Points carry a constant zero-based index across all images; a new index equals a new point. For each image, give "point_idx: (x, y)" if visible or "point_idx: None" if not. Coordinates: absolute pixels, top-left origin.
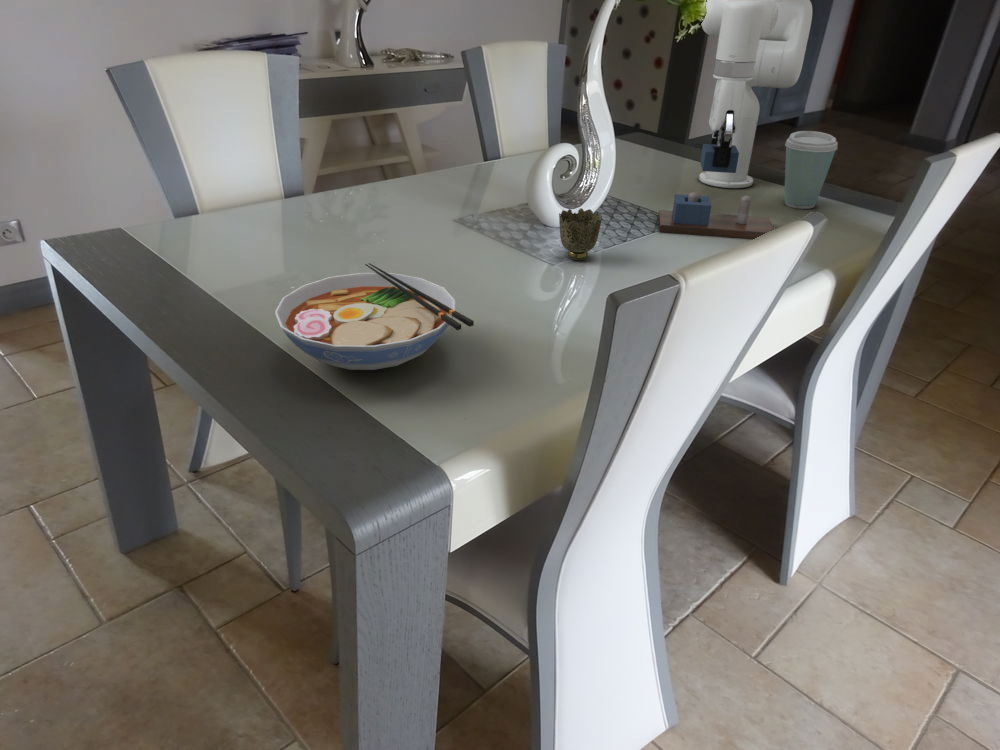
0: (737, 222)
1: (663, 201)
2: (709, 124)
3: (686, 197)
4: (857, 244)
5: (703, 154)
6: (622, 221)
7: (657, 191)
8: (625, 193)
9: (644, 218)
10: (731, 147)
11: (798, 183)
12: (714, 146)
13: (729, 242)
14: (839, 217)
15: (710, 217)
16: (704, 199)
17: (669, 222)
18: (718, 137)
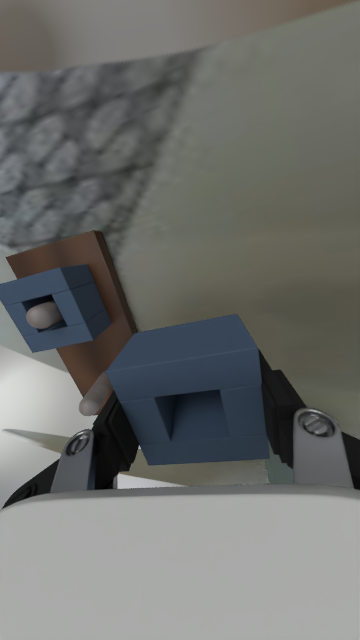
0: (101, 372)
1: (221, 214)
2: (252, 497)
3: (54, 298)
4: (139, 470)
5: (173, 345)
6: (24, 159)
7: (311, 173)
8: (262, 71)
9: (75, 204)
10: (121, 470)
11: (272, 468)
12: (221, 395)
13: (53, 360)
14: (238, 465)
15: (106, 332)
16: (63, 336)
17: (29, 270)
18: (56, 481)
